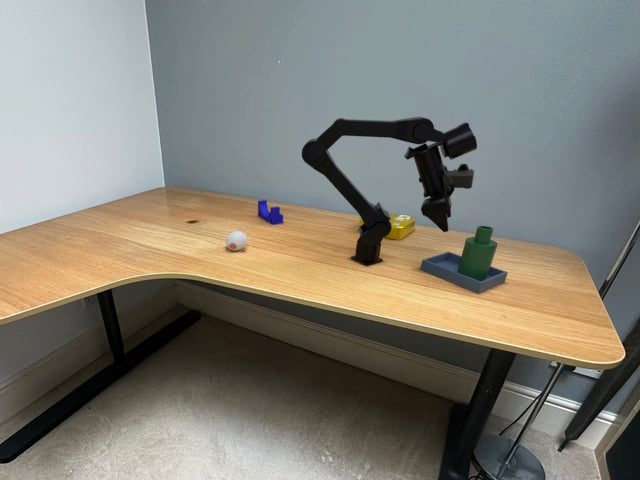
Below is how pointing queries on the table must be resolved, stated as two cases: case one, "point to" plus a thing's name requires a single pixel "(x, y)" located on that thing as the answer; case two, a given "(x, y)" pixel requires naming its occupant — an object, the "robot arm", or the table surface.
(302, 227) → the table surface
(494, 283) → the tray
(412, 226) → the element tile
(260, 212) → the cable clip
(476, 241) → the bottle
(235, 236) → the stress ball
